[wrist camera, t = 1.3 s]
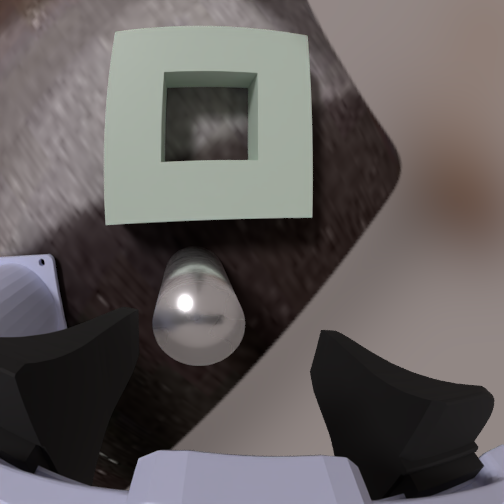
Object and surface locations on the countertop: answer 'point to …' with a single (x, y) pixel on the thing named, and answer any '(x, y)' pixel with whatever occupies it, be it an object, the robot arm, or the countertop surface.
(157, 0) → the countertop surface
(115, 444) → the countertop surface
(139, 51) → the hole block
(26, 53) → the countertop surface
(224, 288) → the steel peg
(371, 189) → the countertop surface
